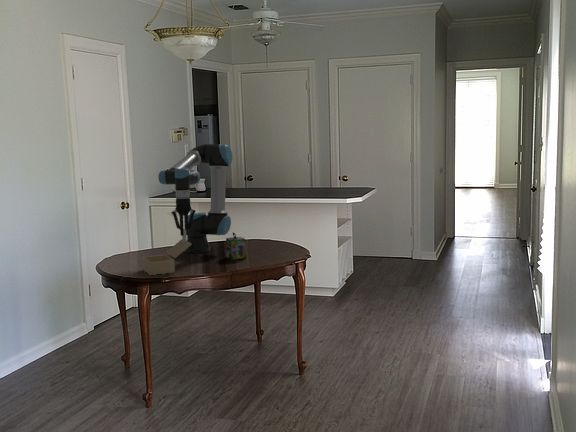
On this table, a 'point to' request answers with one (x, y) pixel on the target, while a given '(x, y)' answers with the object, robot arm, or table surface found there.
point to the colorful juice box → (236, 247)
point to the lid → (178, 248)
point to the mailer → (158, 264)
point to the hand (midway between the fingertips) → (184, 241)
